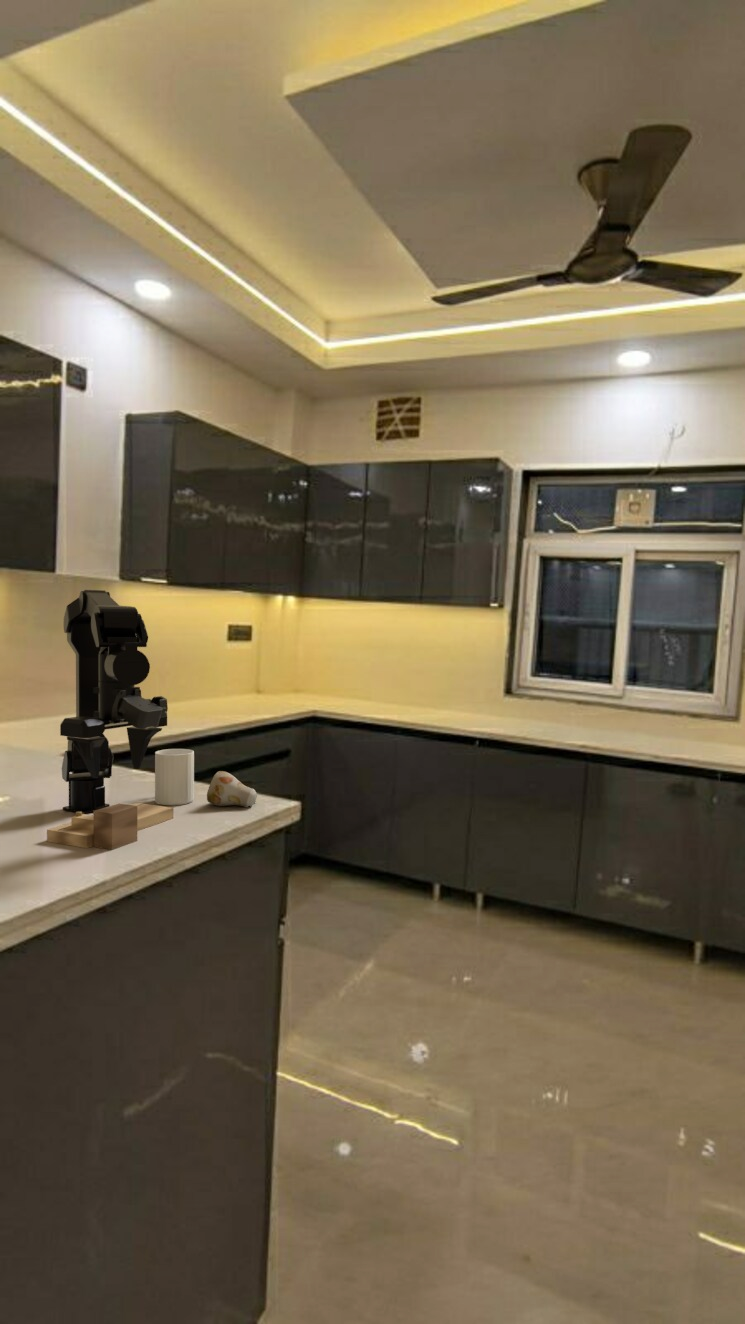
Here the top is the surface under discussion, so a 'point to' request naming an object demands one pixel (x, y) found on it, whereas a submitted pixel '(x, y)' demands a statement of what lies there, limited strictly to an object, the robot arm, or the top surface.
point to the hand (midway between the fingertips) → (116, 773)
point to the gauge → (109, 825)
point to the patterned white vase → (229, 791)
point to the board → (84, 838)
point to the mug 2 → (174, 776)
